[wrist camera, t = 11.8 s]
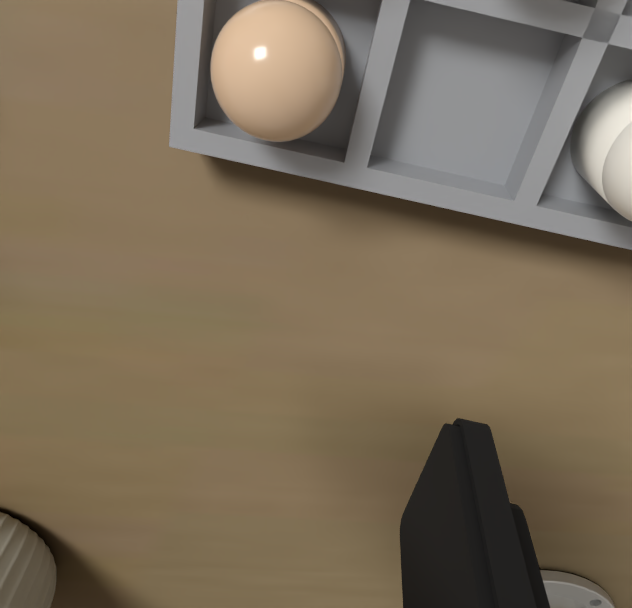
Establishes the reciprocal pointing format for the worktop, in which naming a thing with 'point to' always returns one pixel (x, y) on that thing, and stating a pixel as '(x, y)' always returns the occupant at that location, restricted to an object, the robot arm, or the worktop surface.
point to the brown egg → (278, 68)
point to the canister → (24, 567)
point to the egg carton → (451, 108)
